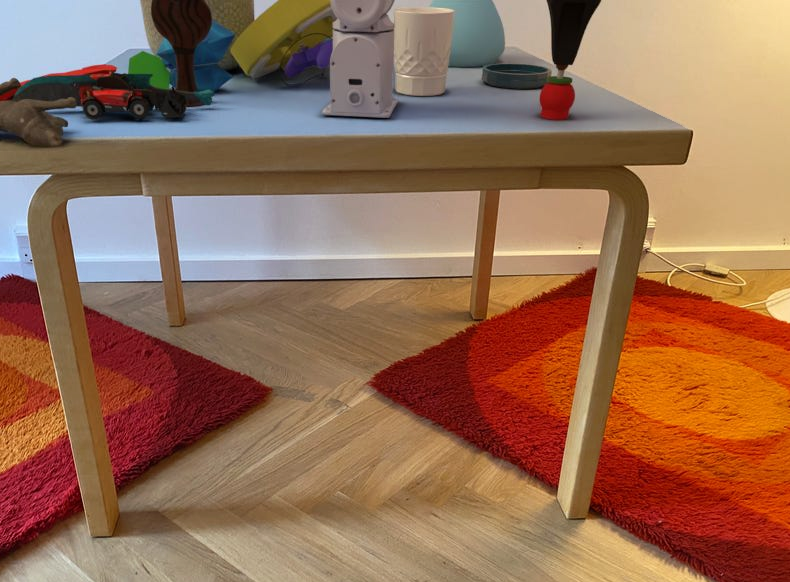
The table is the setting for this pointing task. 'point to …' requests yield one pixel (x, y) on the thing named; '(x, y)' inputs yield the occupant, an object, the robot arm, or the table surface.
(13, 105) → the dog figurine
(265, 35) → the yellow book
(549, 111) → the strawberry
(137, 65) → the gemstone
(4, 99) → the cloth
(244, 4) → the planter
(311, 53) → the game controller
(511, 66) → the dish
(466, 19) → the sugar bowl
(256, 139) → the table surface
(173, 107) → the loader
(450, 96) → the table surface
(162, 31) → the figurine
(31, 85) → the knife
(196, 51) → the crystal
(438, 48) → the white cup
